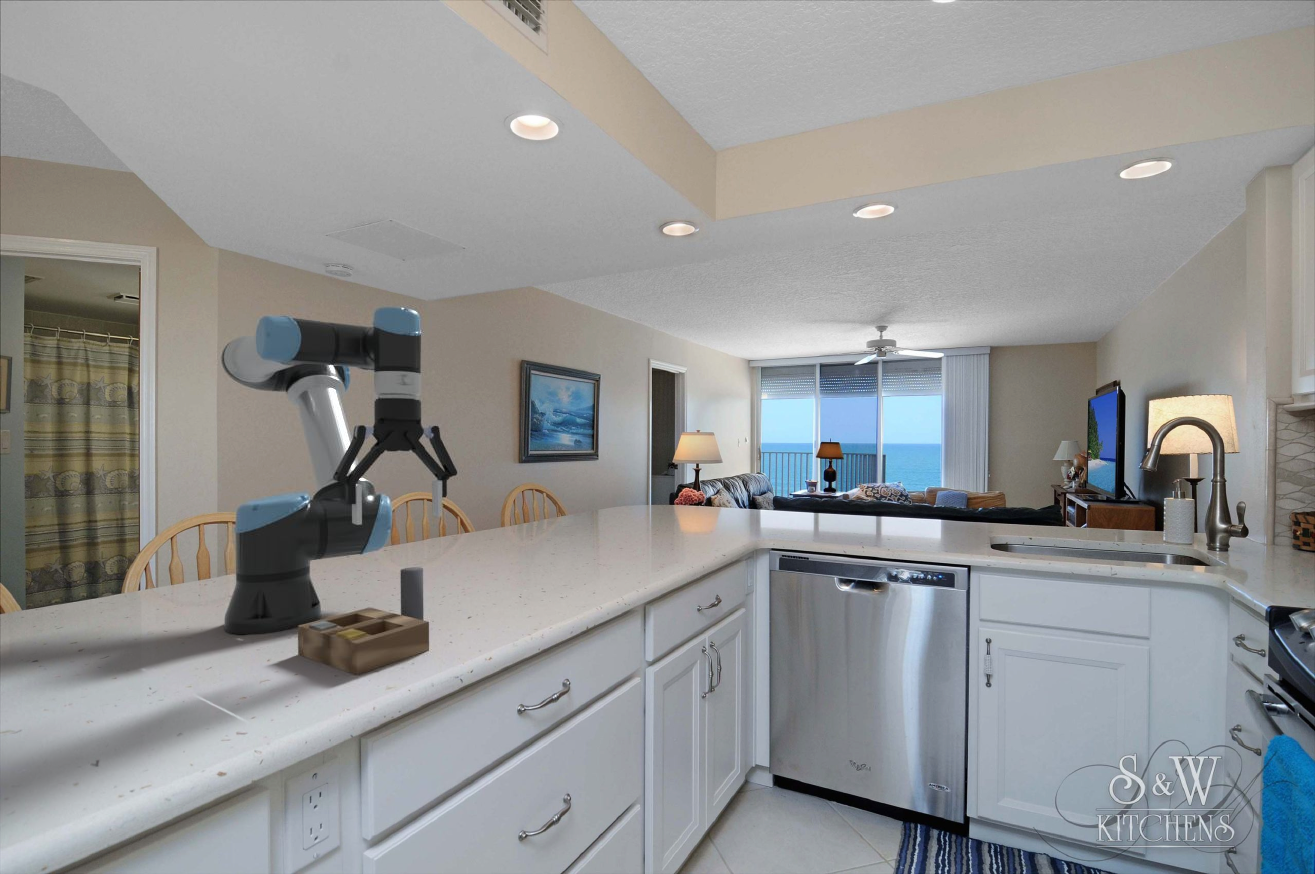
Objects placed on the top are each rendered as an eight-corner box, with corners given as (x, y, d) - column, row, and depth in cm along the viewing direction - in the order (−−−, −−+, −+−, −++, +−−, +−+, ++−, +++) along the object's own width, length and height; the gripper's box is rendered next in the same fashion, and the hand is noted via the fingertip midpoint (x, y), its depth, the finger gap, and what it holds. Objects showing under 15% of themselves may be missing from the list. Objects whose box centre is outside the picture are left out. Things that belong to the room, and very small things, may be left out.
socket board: (298, 654, 96) (297, 623, 96) (369, 633, 106) (369, 605, 106) (357, 675, 87) (357, 640, 87) (429, 650, 97) (428, 619, 97)
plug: (396, 625, 110) (395, 570, 110) (414, 620, 113) (414, 566, 113) (409, 629, 108) (409, 572, 108) (427, 623, 111) (427, 568, 111)
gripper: (324, 393, 95) (325, 529, 96) (475, 399, 112) (475, 515, 112) (312, 396, 101) (313, 524, 101) (457, 401, 118) (458, 511, 118)
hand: (398, 520), depth 107 cm, fingers open, 13 cm apart
